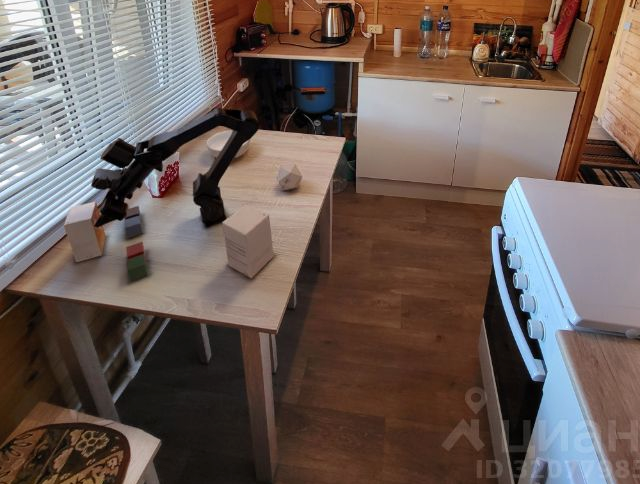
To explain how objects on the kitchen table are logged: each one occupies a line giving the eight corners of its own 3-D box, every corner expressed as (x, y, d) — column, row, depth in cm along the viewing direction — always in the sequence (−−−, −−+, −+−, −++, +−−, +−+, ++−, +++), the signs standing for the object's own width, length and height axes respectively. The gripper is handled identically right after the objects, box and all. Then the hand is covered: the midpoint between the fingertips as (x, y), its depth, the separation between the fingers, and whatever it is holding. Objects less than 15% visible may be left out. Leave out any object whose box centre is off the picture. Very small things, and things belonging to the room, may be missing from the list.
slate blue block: (142, 225, 119) (139, 215, 117) (143, 233, 115) (140, 223, 114) (127, 230, 117) (124, 220, 115) (127, 238, 113) (125, 228, 112)
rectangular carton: (251, 244, 112) (246, 202, 107) (274, 256, 108) (270, 213, 102) (227, 265, 105) (220, 222, 99) (250, 279, 100) (245, 235, 95)
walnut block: (141, 215, 123) (138, 205, 121) (141, 223, 120) (139, 212, 118) (126, 220, 121) (124, 210, 119) (127, 227, 118) (124, 217, 116)
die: (272, 188, 138) (273, 179, 130) (283, 166, 143) (284, 156, 135) (293, 197, 138) (295, 189, 129) (304, 175, 143) (306, 166, 135)
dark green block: (146, 265, 104) (143, 253, 103) (147, 275, 101) (144, 264, 100) (129, 271, 103) (126, 259, 101) (130, 282, 99) (127, 270, 98)
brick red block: (145, 252, 109) (142, 241, 107) (146, 261, 105) (143, 250, 104) (129, 258, 107) (126, 247, 105) (129, 268, 104) (126, 256, 102)
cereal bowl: (244, 166, 149) (242, 150, 147) (202, 165, 150) (199, 150, 147) (255, 144, 165) (254, 129, 163) (217, 143, 165) (215, 129, 163)
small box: (102, 255, 107) (91, 218, 103) (75, 263, 105) (62, 225, 100) (106, 236, 114) (96, 200, 110) (81, 242, 112) (69, 206, 107)
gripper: (113, 144, 111) (78, 184, 111) (101, 180, 95) (59, 227, 95) (148, 162, 117) (115, 200, 117) (142, 198, 101) (103, 242, 101)
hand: (99, 215), depth 107 cm, fingers open, 9 cm apart
